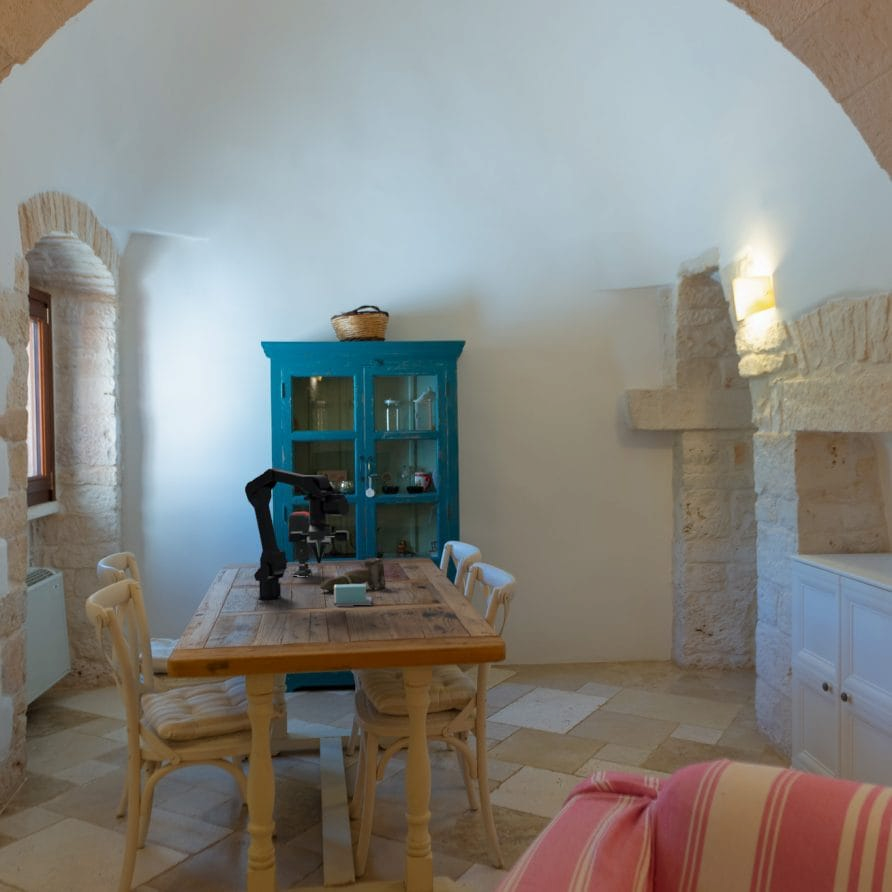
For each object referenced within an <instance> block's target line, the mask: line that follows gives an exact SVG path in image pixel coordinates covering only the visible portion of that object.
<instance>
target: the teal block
mask: <svg viewBox="0 0 892 892" xmlns="http://www.w3.org/2000/svg"><path fill="white" fill-rule="evenodd" d="M366 597H367V586H366V583H363V584H343V585H334V592H333V602H334V604H337V603H357V602H366Z"/></svg>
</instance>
